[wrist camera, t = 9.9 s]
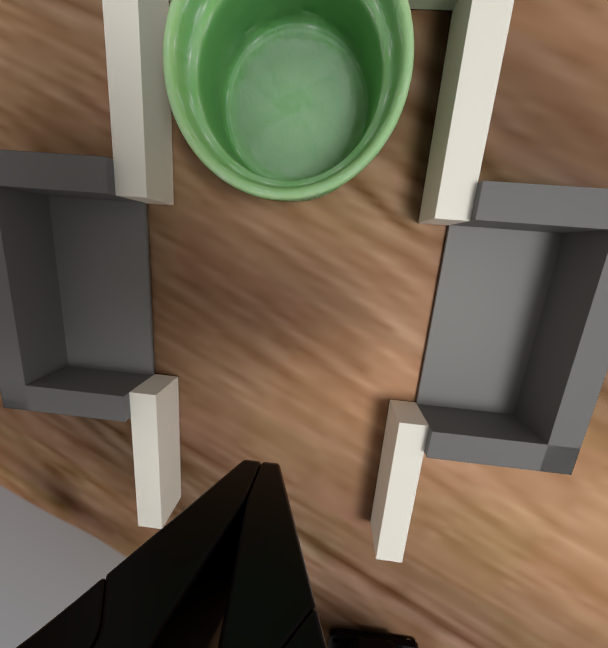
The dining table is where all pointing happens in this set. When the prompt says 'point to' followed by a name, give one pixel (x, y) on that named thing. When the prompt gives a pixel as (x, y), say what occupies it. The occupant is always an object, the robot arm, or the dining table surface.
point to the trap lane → (448, 310)
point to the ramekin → (287, 88)
